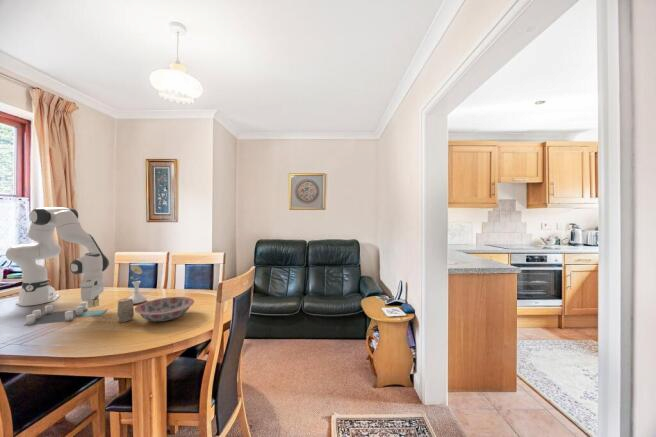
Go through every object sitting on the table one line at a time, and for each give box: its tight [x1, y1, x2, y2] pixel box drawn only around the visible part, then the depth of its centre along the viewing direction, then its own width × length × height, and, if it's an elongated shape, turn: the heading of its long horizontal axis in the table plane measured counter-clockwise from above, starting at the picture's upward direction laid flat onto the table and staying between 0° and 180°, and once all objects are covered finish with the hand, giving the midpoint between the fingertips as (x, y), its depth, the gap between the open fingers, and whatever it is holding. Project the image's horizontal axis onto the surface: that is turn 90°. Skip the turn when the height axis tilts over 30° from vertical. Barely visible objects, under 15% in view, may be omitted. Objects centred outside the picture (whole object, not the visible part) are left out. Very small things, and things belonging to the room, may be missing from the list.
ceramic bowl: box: [134, 296, 195, 322], centre depth 158 cm, size 29×29×8 cm
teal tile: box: [78, 309, 108, 318], centre depth 163 cm, size 10×10×1 cm
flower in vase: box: [128, 264, 147, 305], centre depth 185 cm, size 13×11×25 cm
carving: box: [116, 297, 135, 323], centre depth 154 cm, size 6×8×12 cm
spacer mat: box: [23, 301, 89, 327], centre depth 158 cm, size 20×22×5 cm
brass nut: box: [87, 298, 100, 309], centre depth 163 cm, size 5×5×4 cm
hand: (93, 304), depth 163 cm, fingers closed on brass nut, 5 cm apart
